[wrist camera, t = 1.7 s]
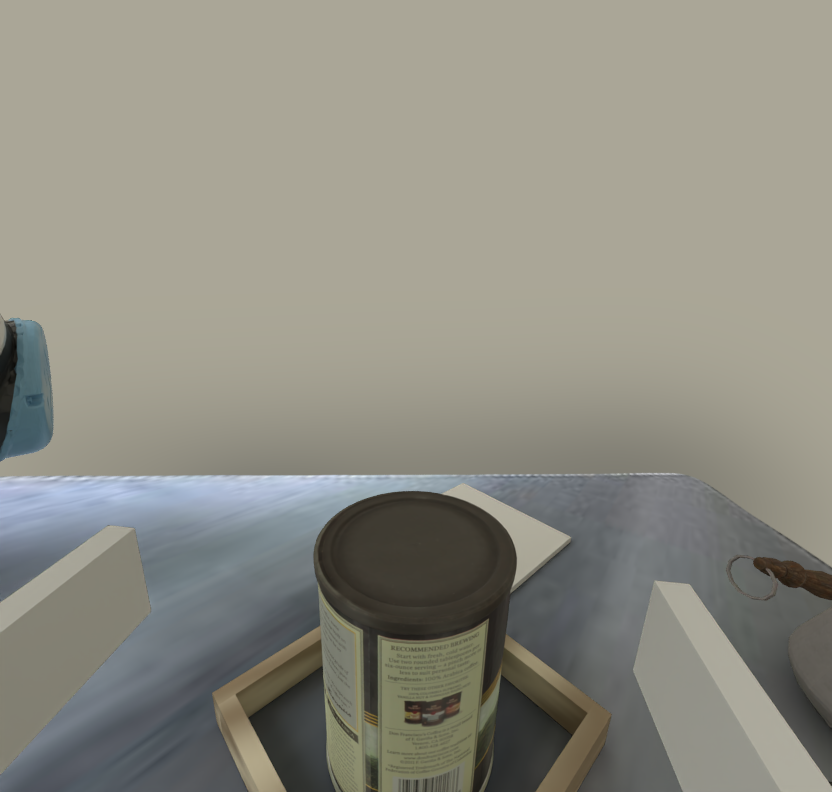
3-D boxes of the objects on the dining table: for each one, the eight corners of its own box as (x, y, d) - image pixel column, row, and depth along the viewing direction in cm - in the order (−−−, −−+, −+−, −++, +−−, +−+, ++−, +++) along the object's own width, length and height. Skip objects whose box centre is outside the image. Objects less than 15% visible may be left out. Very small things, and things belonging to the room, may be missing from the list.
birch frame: (216, 722, 26) (212, 693, 25) (415, 589, 37) (416, 565, 36) (392, 1108, 14) (393, 1074, 14) (604, 743, 26) (611, 714, 25)
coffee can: (423, 635, 33) (431, 474, 28) (529, 755, 25) (561, 557, 21) (297, 713, 27) (282, 524, 22) (382, 903, 19) (385, 668, 15)
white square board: (371, 533, 45) (371, 528, 45) (462, 487, 55) (463, 483, 54) (482, 617, 34) (483, 611, 34) (570, 542, 44) (571, 537, 44)
